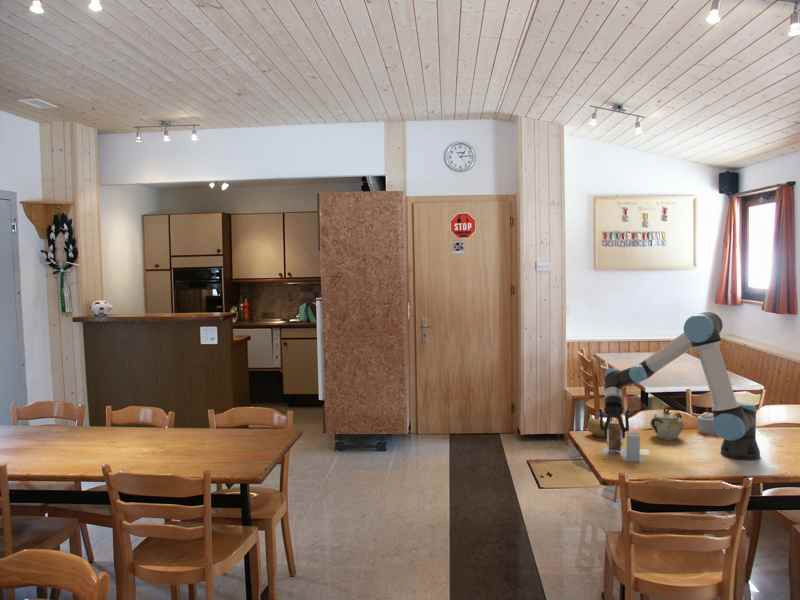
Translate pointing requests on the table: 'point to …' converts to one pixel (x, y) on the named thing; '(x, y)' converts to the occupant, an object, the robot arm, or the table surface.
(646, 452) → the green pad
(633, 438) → the bluegrey block
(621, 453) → the code tile
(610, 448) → the walnut block
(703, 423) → the lumpy-topped squat cylinder
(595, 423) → the potato
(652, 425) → the sugar bowl
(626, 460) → the code tile
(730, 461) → the table surface
